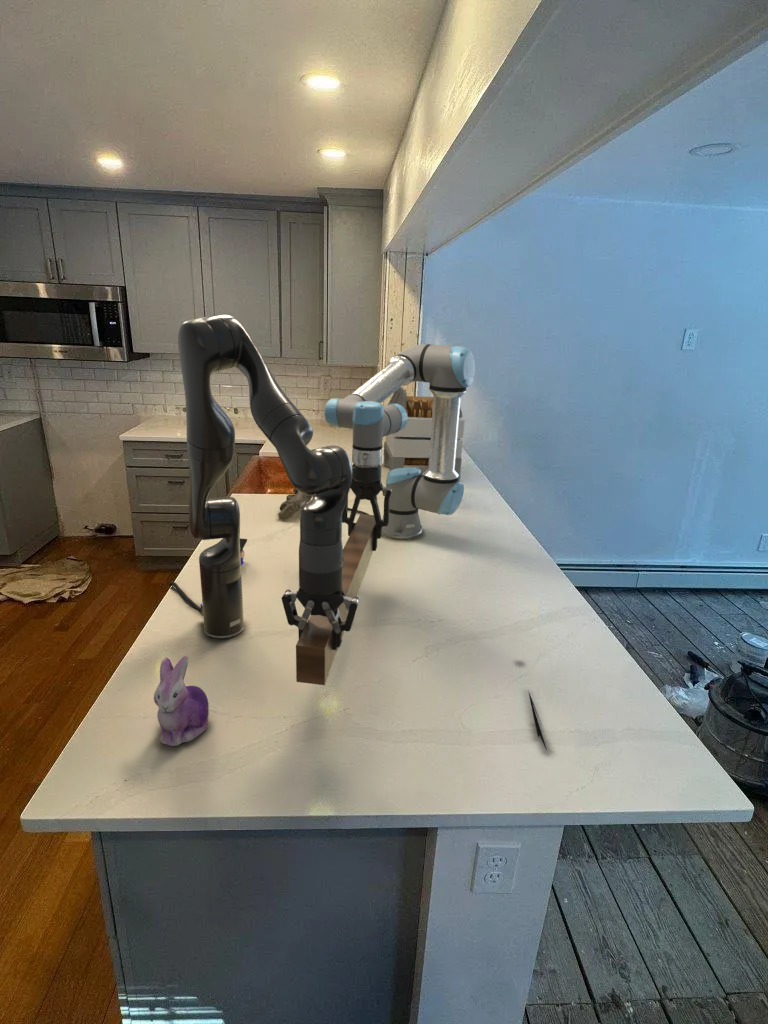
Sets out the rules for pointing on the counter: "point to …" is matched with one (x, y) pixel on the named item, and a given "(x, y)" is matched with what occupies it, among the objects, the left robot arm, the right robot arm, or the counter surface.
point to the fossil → (293, 504)
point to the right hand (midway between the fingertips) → (364, 547)
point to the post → (318, 632)
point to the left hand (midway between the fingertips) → (320, 645)
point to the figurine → (179, 705)
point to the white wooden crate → (415, 434)
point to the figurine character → (242, 544)
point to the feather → (536, 721)
